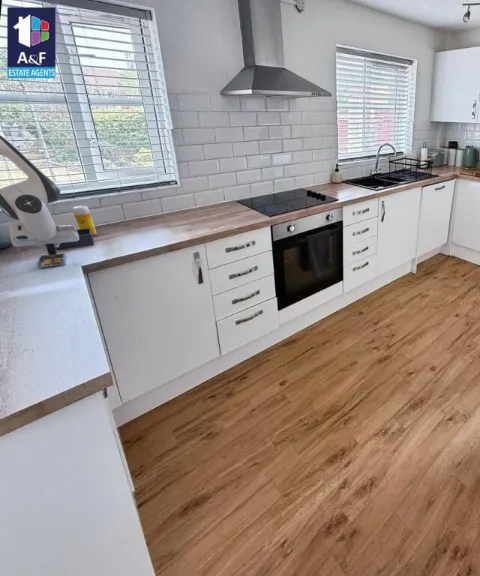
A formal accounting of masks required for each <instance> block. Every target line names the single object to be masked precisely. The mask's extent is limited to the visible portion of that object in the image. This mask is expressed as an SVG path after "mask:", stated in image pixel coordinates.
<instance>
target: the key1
mask: <svg viewBox="0 0 480 576" xmlns="http://www.w3.org/2000/svg"><path fill="white" fill-rule="evenodd" d="M50 261H52V259H47V260H44V265H48V264H50Z"/></svg>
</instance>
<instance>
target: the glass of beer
mask: <svg viewBox="0 0 480 576" xmlns="http://www.w3.org/2000/svg"><path fill="white" fill-rule="evenodd" d="M72 212H73V215H74V217H75V220H76V223H77V226H78V229H89V228H91V230H92V234H93V236H95V235H96V233H97V231H96V227H95V224H94V221H93V218H92V215H91V212H90V209H89V207H88V206H87V205H75V206H73V207H72ZM94 234H95V235H94Z"/></svg>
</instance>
